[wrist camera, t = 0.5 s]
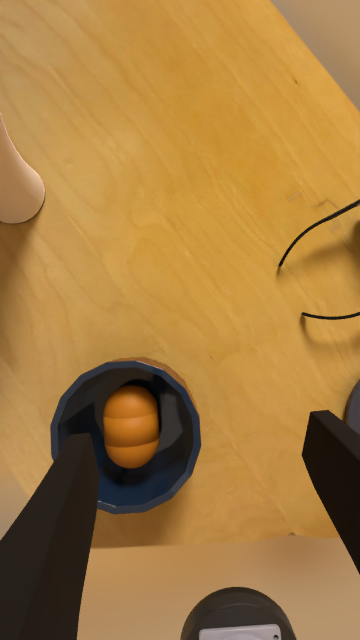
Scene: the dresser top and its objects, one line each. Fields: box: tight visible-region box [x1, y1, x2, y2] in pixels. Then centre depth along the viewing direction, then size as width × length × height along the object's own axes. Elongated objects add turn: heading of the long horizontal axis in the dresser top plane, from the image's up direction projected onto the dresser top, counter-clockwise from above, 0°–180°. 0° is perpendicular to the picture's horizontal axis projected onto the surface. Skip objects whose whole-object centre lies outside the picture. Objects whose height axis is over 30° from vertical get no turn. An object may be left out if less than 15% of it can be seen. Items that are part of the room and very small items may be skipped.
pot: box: [50, 357, 201, 514], centre depth 30 cm, size 12×12×6 cm
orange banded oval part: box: [103, 385, 159, 468], centre depth 30 cm, size 7×5×5 cm
